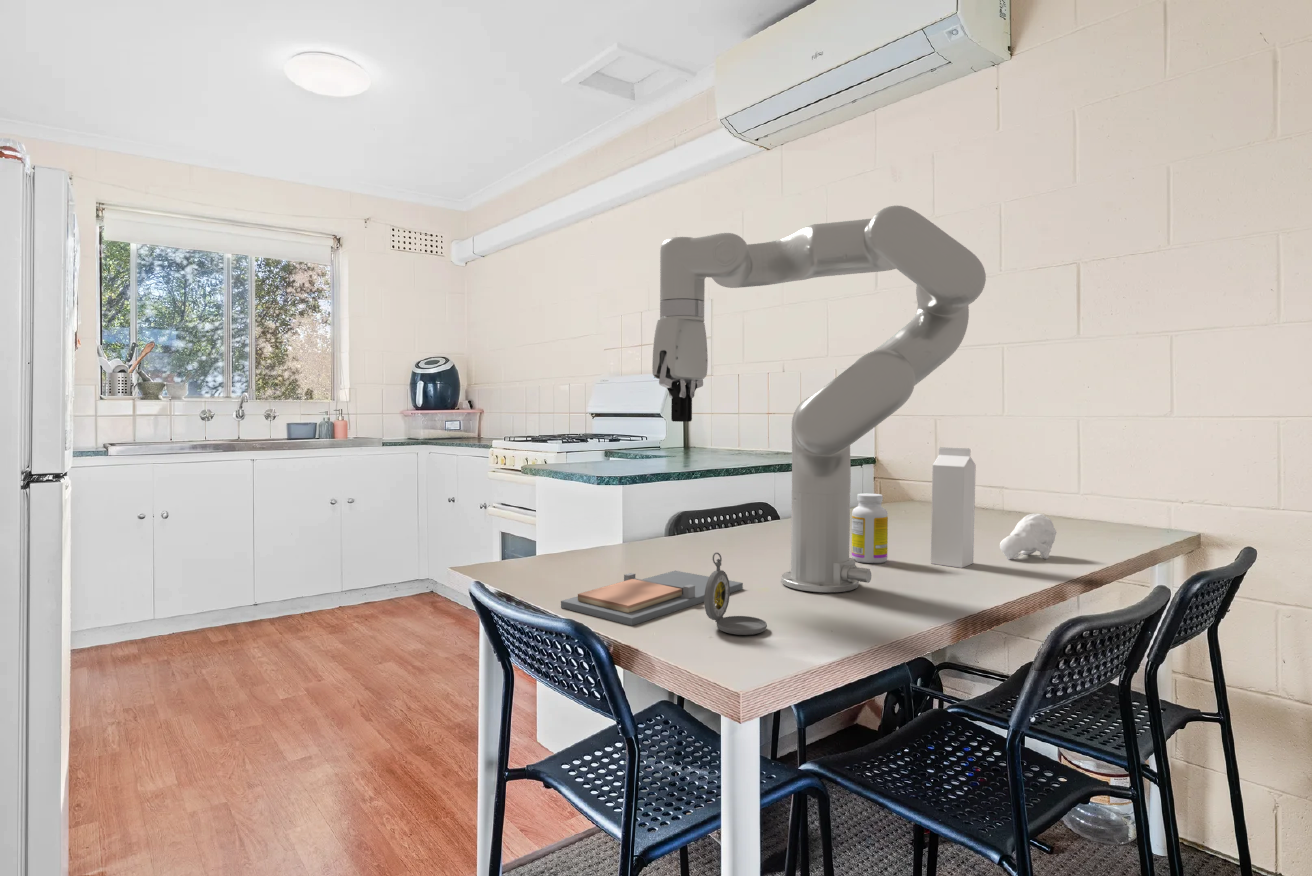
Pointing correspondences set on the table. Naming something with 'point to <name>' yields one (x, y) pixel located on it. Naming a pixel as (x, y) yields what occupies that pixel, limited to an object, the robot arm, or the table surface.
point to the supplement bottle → (869, 529)
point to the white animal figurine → (1030, 537)
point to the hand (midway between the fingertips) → (681, 421)
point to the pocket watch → (721, 589)
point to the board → (691, 596)
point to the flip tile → (630, 595)
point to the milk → (953, 508)
